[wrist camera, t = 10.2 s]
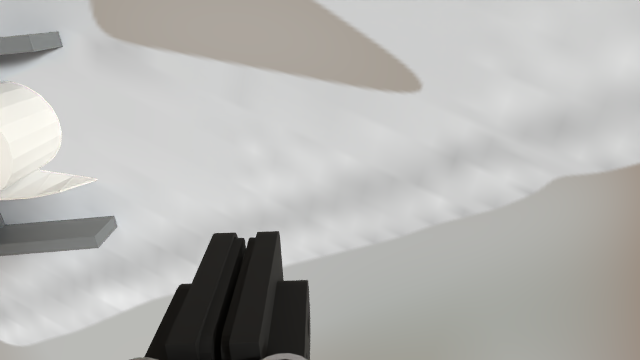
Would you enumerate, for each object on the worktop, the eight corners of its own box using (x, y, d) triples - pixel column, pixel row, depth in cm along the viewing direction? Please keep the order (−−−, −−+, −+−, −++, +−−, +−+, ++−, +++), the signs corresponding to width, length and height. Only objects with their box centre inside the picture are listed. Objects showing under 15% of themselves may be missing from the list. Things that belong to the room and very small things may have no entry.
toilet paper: (97, 180, 42) (56, 213, 35) (-26, 161, 41) (-90, 191, 35) (95, 95, 39) (50, 114, 32) (-38, 73, 38) (-111, 88, 32)
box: (-84, 45, 37) (-128, 50, 33) (58, 31, 37) (28, 35, 33) (-3, 236, 44) (-32, 258, 40) (117, 226, 44) (98, 247, 40)
